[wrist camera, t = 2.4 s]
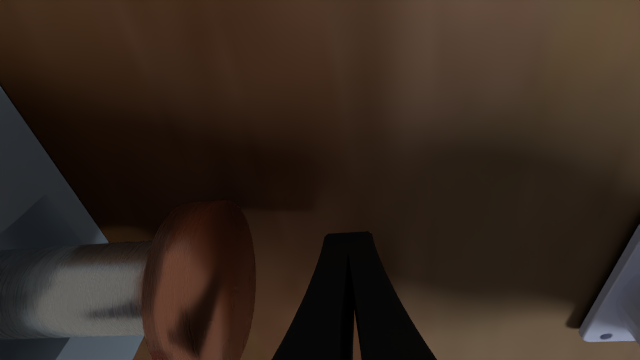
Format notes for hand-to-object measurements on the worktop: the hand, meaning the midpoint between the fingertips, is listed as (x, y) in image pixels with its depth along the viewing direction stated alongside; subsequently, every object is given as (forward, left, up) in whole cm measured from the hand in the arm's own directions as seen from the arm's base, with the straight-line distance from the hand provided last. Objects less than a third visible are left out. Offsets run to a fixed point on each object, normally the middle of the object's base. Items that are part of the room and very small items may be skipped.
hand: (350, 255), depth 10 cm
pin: (+9, 0, -2) cm, 9 cm away
